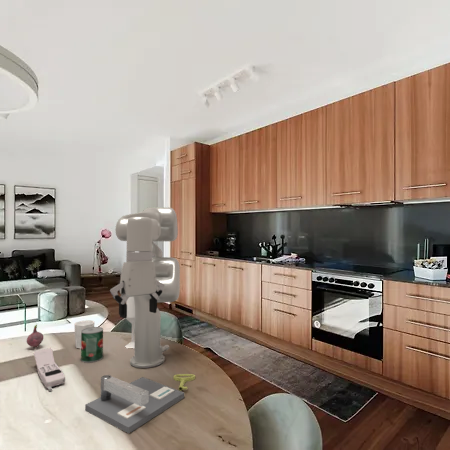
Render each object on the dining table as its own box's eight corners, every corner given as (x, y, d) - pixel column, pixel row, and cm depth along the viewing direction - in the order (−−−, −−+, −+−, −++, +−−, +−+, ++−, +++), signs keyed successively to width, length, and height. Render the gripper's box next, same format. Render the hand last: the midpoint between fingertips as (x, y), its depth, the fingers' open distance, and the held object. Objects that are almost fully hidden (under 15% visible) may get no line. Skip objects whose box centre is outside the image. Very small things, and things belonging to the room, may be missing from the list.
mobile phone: (51, 346, 117) (68, 368, 98) (51, 362, 117) (68, 387, 98) (32, 350, 113) (46, 373, 94) (32, 367, 113) (46, 393, 94)
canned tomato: (106, 358, 120) (106, 329, 120) (85, 364, 114) (86, 334, 115) (97, 353, 126) (97, 325, 126) (77, 358, 120) (77, 329, 120)
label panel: (142, 381, 101) (142, 375, 101) (184, 397, 91) (184, 391, 91) (85, 410, 84) (85, 403, 84) (128, 433, 74) (128, 425, 74)
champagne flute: (144, 344, 136) (144, 289, 137) (134, 349, 129) (135, 291, 130) (131, 342, 138) (131, 288, 139) (121, 347, 132) (122, 290, 133)
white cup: (98, 345, 135) (98, 322, 135) (81, 350, 128) (81, 326, 128) (86, 341, 139) (87, 319, 139) (70, 347, 132) (70, 323, 132)
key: (178, 395, 93) (178, 388, 93) (172, 377, 105) (172, 371, 105) (202, 391, 95) (202, 384, 96) (193, 374, 107) (193, 368, 107)
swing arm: (107, 394, 89) (107, 374, 90) (149, 413, 80) (149, 390, 80) (98, 398, 87) (98, 377, 87) (140, 418, 77) (140, 395, 78)
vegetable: (27, 352, 127) (27, 327, 127) (25, 347, 132) (26, 323, 132) (44, 348, 130) (44, 324, 131) (42, 344, 135) (42, 321, 136)
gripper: (157, 256, 103) (157, 308, 102) (106, 258, 91) (104, 317, 90) (170, 257, 97) (169, 312, 96) (117, 258, 86) (116, 322, 85)
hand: (138, 314), depth 93 cm, fingers open, 9 cm apart
